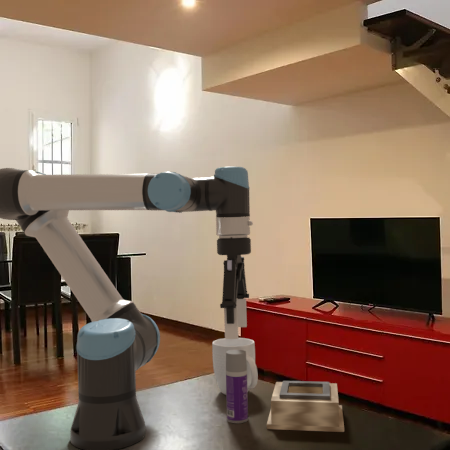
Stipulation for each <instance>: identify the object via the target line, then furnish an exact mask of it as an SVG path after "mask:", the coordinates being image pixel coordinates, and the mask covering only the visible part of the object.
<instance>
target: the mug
mask: <svg viewBox="0 0 450 450" xmlns="http://www.w3.org/2000/svg"><path fill="white" fill-rule="evenodd" d="M255 345H256V344H255V341H254V340H253V339H250V338H245V337H238V339H225V337H224V338H218V339H216V340H213V341H212V345H211V346H212V349H211V351H212V368H213V373H214V379H215V382H216V384H217V388H218V389H219V390H220V393H222V394H223V395H225V396H226V352H227V351H229V350H244V351H246V364H247V393H248V392H249V390H251V389H254V388H256V386H257V385H258V378H259V376H258V367H257V364H256V346H255Z"/></svg>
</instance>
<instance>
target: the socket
mask: <svg viewBox="0 0 450 450" xmlns="http://www.w3.org/2000/svg"><path fill="white" fill-rule="evenodd" d="M338 391H339V390H338V383H336V382H335V383H333V382H332V383H331V382H330V381H308V380H307V381H304V380H302V381H301V380H282V381H276V382H275V385H274V389H273V392H272V394H271V399H270V411H269V413H268V414H269V415H268V417H267V422H266V430H284V431H285V430H286V431H289V430H290V431H309V432H333V433H334V432H335V433H336V432H337V433H344V432H345V425H344V424H345V423H344V414H343V405H342V404H340V403H339V394H338V393H339V392H338Z"/></svg>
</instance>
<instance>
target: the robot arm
mask: <svg viewBox="0 0 450 450" xmlns="http://www.w3.org/2000/svg"><path fill="white" fill-rule="evenodd" d="M249 184H250V183H249V173H248V170H247V168H245V167H243V166H234V165H233V166H231V165H230V166H220V167H217V168H216V169H214V174H213V176H210V177H209V176H208V177H187V176H185V175H182V174H180V173H177V171H176V172H175V171H163V172H159V173H103V174H102V173H97V174H96V173H87V174H86V173H85V174H84V173H83V174H73V173H72V174H46V173H44V172H41V171H34V170H32V169H28V170H27V169H26V170H25V169H20V168H19V169H17V168H13V167H4V168H0V219H1V220H8V221H16V223H17V225H18V226H19V227H20V228H21V230H22V231H23V233H24V234H25V236H26V237H31V238H35V239H36V240H37V242H38V243H39V244H40V247H42V249H43V252H44V253H45V254H46V255H47V256H48V258H49V259H50V261H51V263H52V264H53V265H54V267H55V269H56V270H57V271H58V273H59V275H60V276H61V278H63V280H64V282H65V283H66V285H67V286H68V288H69V289H70V291H71V292H72V293H73V295H74V297H75V298H76V299H77V301H78V302H79V304H80V306H81V307H82V308H83V310H84V311H85V313H86V314H87V316H88V318H90V321H91V322H88V323H86V324H84V325H83V326H82V327H80V329H79V330H78V333H77V337H76V338H77V339H76V340H77V342H76V353H77V354H76V355H77V356H76V357H77V383H78V384H77V386H78V387H77V389H78V392H77V393H78V403H77V406H76V409H75V414H74V416H73V421H72V424H71V426H70V443H71V445H72V446H73V447H75V448H77V449H81V450H118V449H119V450H120V449H123V448H126V447H130V446H132V445H134V444H137V443H139V442H140V441H142V440H143V439H144V437H145V436H146V422H145V418H144V416H143V412H142V410H141V407H140V405H139V402H138V398H137V389H136V388H137V384H136V381H137V379H136V378H137V376H136V371H137V370H139V369H140V368H141V367H144V366H145V365H147V363H149V362H151V360H152V359H153V358H154V357H155V355H156V353H157V352H158V350H159V347H160V344H161V333H160V329H159V327H158V325H157V324H156V321H154V320H153V319H152V317H150V316H148V315H146V314H143V313H141V311H140V310H139V308H138V307H137V306H136V304H135V303H134V302H133V301H132V300H127V299H124V298H123V297H122V295H121V294H120V293H119V291H118V290H117V289H116V287H115V285H114V284H113V282H112V281H111V279H110V278H109V276H108V274H106V272H105V271H104V269H103V268H102V267H101V265H100V263H99V262H98V261H97V259H96V258H95V256H94V255H93V253H92V252H91V250H90V249H89V248H88V246H87V244H86V243H85V241H84V240H83V238H82V237H81V235H80V234H79V233H78V231H77V230H76V228H75V227H74V226H73V224H72V223H71V220H69V218H68V215H69V212H70V211H164V212H165V211H166V212H168V213H179V214H180V213H181V214H182V213H186V212H187V213H189V212H190V213H191V212H206V211H209V212H213V211H215V231H216V232H215V233H216V236H218V238H217V240H216V254H218V255H219V256H226V260H225V259H224V260H223V279H222V280H223V281H222V283H223V284H222V298H221V300H222V302H221V303H220V304H219V307H220V309H223V313H224V318H223V319H224V338H225V339H238V338H239V328H247V326H248V324H247V323H248V321H247V320H248V319H247V318H248V317H247V315H248V314H247V299H249V298H250V293H248V290H247V281H246V280H247V279H246V271H245V269H246V268H245V257H244V255H245V256H246V255H250V254H251V253H252V246H251V245H252V241H251V240H252V239H251V238H250V237H248V236H250V235H251V226H253V225H254V222H253V221H252V220H250V217H251V213H250V207H251V206H250V185H249Z"/></svg>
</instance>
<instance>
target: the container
mask: <svg viewBox="0 0 450 450" xmlns="http://www.w3.org/2000/svg"><path fill="white" fill-rule="evenodd" d="M225 396H226V398H225V399H226V420H227V422H229V423H233V424H242V423H246V422H247V421H249V410H248V409H249V408H248V407H249V402H248V396H249V395H248V392H247V364H246V351H244V350H229V351H227V352H226V395H225Z"/></svg>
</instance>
